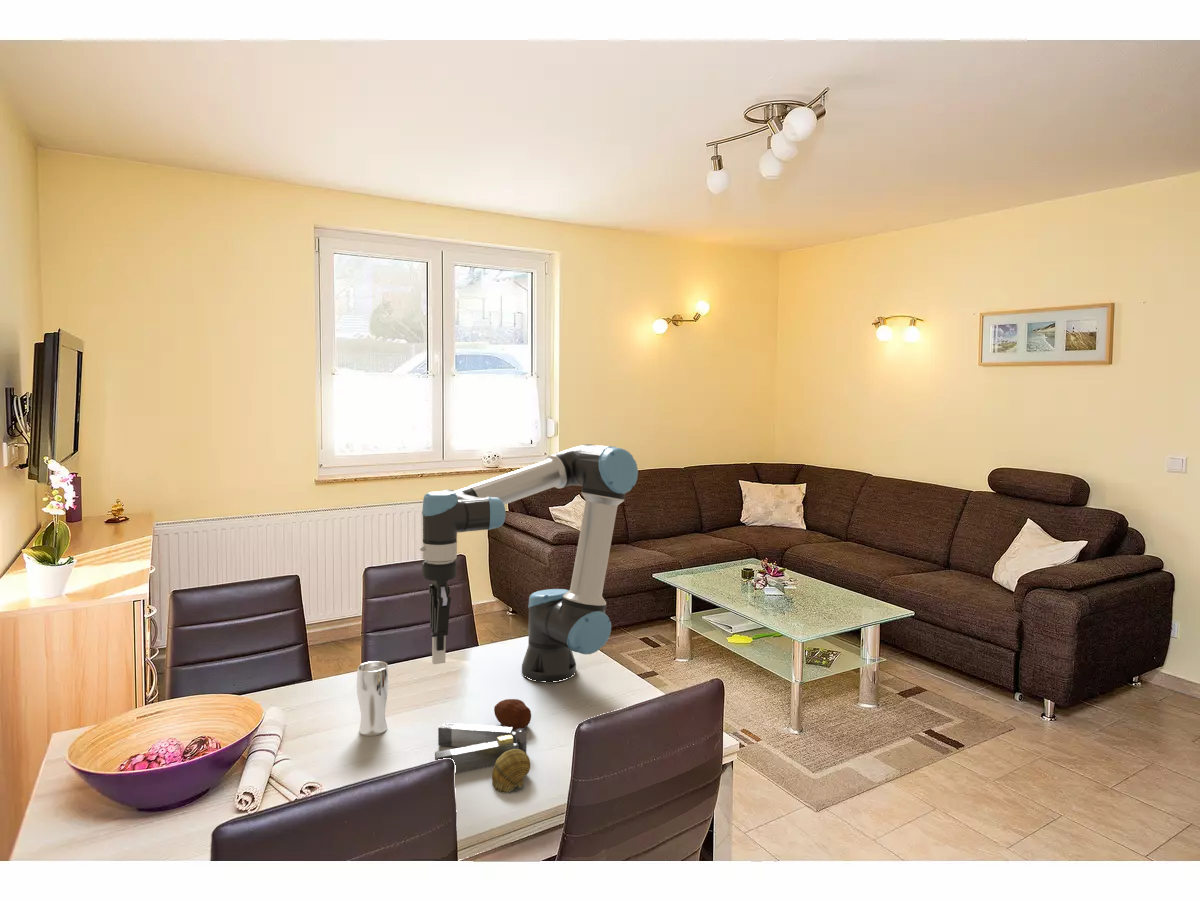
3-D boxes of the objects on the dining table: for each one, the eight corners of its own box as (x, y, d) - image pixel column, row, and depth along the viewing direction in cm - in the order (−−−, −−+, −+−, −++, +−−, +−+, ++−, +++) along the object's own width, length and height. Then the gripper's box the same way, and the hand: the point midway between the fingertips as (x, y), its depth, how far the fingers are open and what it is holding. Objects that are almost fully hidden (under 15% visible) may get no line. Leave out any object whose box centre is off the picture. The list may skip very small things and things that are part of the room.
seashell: (516, 810, 140) (543, 779, 141) (490, 796, 137) (517, 764, 137) (505, 777, 149) (530, 747, 149) (480, 763, 146) (506, 733, 146)
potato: (512, 738, 161) (512, 710, 161) (487, 724, 168) (488, 697, 167) (536, 728, 166) (536, 701, 166) (511, 715, 173) (511, 689, 172)
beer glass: (377, 739, 160) (376, 673, 158) (350, 734, 162) (350, 669, 160) (395, 725, 166) (394, 662, 165) (369, 721, 168) (368, 659, 167)
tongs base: (524, 749, 156) (524, 727, 156) (530, 758, 152) (530, 735, 152) (433, 767, 148) (433, 744, 148) (437, 777, 144) (437, 753, 144)
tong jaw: (518, 745, 157) (518, 727, 157) (515, 750, 155) (515, 732, 155) (441, 740, 159) (441, 722, 159) (438, 745, 157) (438, 727, 156)
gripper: (417, 555, 165) (417, 654, 167) (428, 568, 154) (427, 675, 155) (449, 553, 168) (449, 651, 170) (462, 565, 157) (461, 670, 158)
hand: (438, 662), depth 163 cm, fingers closed
